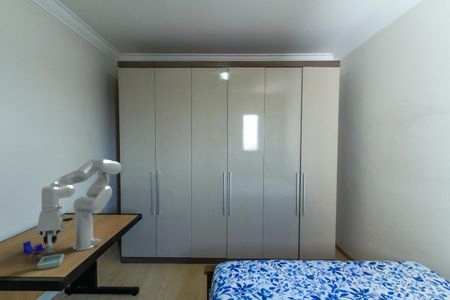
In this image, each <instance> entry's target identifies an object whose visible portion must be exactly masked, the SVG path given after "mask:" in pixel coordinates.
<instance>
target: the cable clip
mask: <svg viewBox="0 0 450 300" xmlns="http://www.w3.org/2000/svg"><path fill="white" fill-rule="evenodd" d="M22 245H23V248H22V249H23V253H24V254H28V255H31V253H32V252H37V251H45V252H46V248H45V247H43V243H38V244H36V245H34V246H35V247H34V248H33V246H32V242H31V241H30V240H28V241H25V242H23V243H22Z"/></svg>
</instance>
